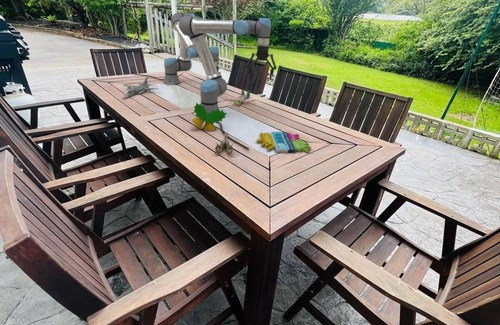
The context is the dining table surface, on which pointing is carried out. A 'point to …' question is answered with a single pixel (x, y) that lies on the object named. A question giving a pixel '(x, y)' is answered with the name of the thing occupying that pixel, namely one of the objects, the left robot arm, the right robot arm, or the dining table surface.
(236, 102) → the toy
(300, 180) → the dining table surface
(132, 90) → the airplane
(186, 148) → the dining table surface
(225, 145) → the jawbone
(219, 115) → the ornament
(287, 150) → the packaged colorful gloves
